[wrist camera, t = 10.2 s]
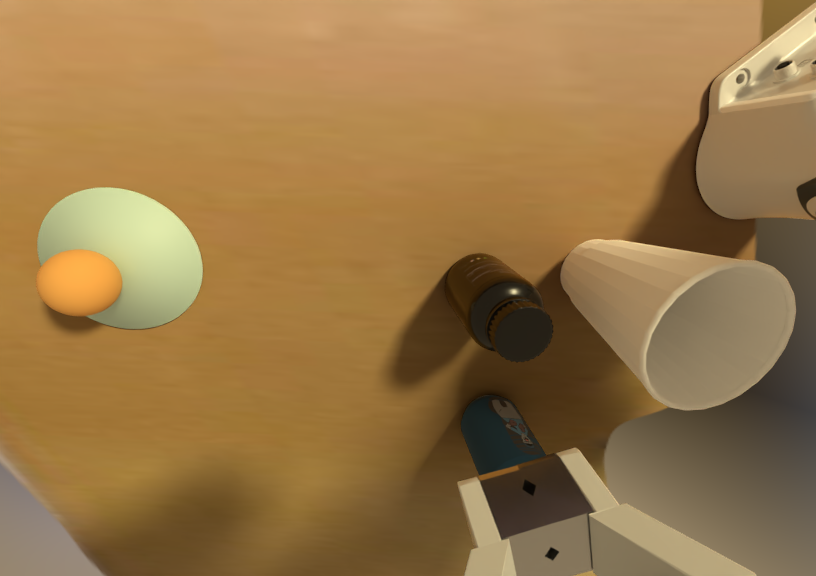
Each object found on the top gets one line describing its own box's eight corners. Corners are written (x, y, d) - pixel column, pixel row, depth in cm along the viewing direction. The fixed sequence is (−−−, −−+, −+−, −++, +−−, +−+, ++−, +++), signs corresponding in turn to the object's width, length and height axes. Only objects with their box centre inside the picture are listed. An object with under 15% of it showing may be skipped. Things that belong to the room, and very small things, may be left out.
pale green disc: (88, 153, 32) (86, 153, 32) (231, 252, 37) (231, 253, 36) (9, 272, 34) (8, 273, 34) (154, 352, 39) (153, 353, 39)
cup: (618, 191, 40) (778, 224, 25) (656, 280, 45) (812, 352, 30) (518, 260, 41) (616, 330, 26) (566, 339, 46) (672, 438, 31)
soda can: (464, 445, 49) (500, 535, 38) (452, 401, 46) (486, 484, 35) (518, 427, 49) (569, 512, 38) (508, 382, 47) (560, 459, 35)
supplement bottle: (510, 304, 43) (568, 363, 32) (448, 319, 42) (486, 385, 31) (503, 243, 40) (564, 285, 29) (438, 259, 40) (474, 307, 29)
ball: (95, 227, 33) (18, 251, 29) (144, 273, 34) (76, 304, 29) (85, 265, 37) (14, 292, 32) (130, 307, 37) (67, 340, 33)
